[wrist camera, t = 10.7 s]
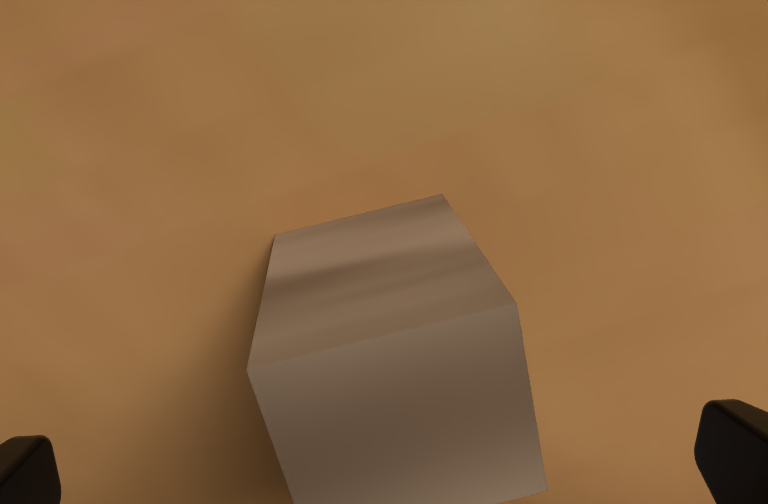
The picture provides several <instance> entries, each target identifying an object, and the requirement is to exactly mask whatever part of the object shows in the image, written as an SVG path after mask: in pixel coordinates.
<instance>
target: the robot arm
mask: <svg viewBox="0 0 768 504" xmlns="http://www.w3.org/2000/svg"><path fill="white" fill-rule="evenodd" d="M694 455H695V460H696V464H697V466H698V469H699V470H700V472H701V474H702V476H703V478H704V480H705V482H706V484H707V486H708V488H709V490H710V492H711V494H712V496H713V498H714V500H715V502H716V504H768V412H766V411H764V410H761V409H759V408H757V407H754V406H752V405H750V404H747V403H745V402H742V401H740V400H736V399H726V400H711V401H709V402H707V403H706V404H705V405H704V407H703V410H702V414H701V418H700V423H699V428H698V433H697V437H696V442H695V447H694ZM60 500H61V484H60V479H59V475H58V470H57V465H56V461H55V456H54V452H53V447H52V444H51V441H50V440H49V438H47V437H46V436H44V435H36V436H17V437H13V438H10V439H9V440H7V441H5V442H4V443H2V444H0V504H60Z"/></svg>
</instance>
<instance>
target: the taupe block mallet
mask: <svg viewBox="0 0 768 504" xmlns="http://www.w3.org/2000/svg"><path fill="white" fill-rule="evenodd" d="M246 371H247V374H248V376H249V379H250V382H251V385H252V388H253V390H254V393H255V396H256V399H257V402H258V404H259V407H260V410H261V413H262V416H263V418H264V421H265V424H266V427H267V430H268V432H269V435H270V438H271V441H272V444H273V447H274V449H275V452H276V455H277V458H278V461H279V463H280V466H281V469H282V472H283V475H284V477H285V480H286V483H287V486H288V489H289V491H290V494H291V497H292V500H293V503H294V504H497V503H501V502H505V501H509V500H513V499H517V498H521V497H525V496H529V495H533V494H537V493H541V492H545V491H548V490H547V484H546V478H545V472H544V466H543V460H542V454H541V448H540V442H539V436H538V430H537V423H536V417H535V411H534V405H533V399H532V393H531V387H530V381H529V375H528V369H527V363H526V357H525V351H524V345H523V339H522V333H521V326H520V320H519V314H518V308H517V303H516V302H515V300H514V299H513V297H512V296H511V294H510V293H509V291H508V290H507V288H506V287H505V285H504V284H503V283H502V281H501V280H500V278H499V277H498V275H497V274H496V272H495V271H494V269H493V268H492V266H491V265H490V263H489V262H488V260H487V259H486V257H485V256H484V255H483V253H482V252H481V250H480V249H479V247H478V246H477V244H476V243H475V241H474V240H473V238H472V237H471V235H470V234H469V232H468V231H467V229H466V228H465V227H464V225H463V224H462V222H461V221H460V219H459V218H458V216H457V215H456V213H455V212H454V210H453V209H452V207H451V206H450V204H449V203H448V201H447V200H446V198H445V197H444V196H443V194H440V195H436V196H432V197H428V198H424V199H420V200H416V201H412V202H408V203H403V204H399V205H395V206H391V207H387V208H383V209H379V210H375V211H371V212H367V213H363V214H359V215H355V216H350V217H346V218H342V219H338V220H334V221H330V222H326V223H322V224H318V225H314V226H310V227H306V228H302V229H297V230H293V231H289V232H285V233H281V234H277V235H275V238H274V243H273V247H272V252H271V257H270V261H269V266H268V271H267V275H266V280H265V285H264V290H263V294H262V299H261V304H260V308H259V313H258V318H257V322H256V327H255V332H254V336H253V341H252V346H251V351H250V355H249V360H248V365H247V369H246Z"/></svg>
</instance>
